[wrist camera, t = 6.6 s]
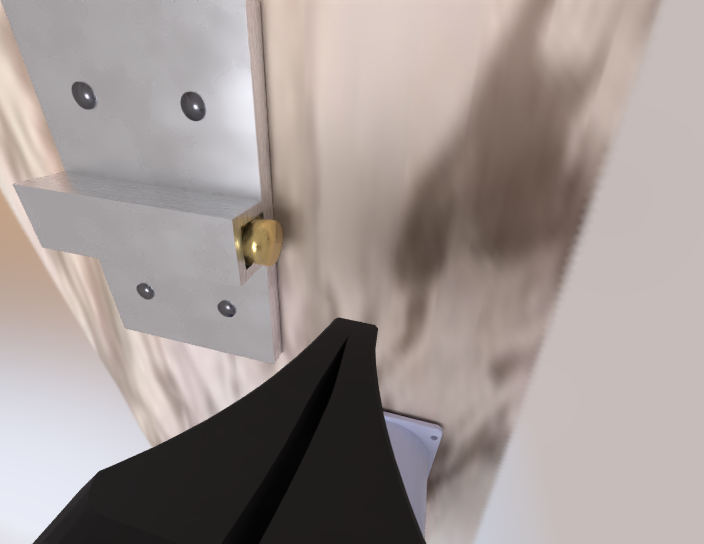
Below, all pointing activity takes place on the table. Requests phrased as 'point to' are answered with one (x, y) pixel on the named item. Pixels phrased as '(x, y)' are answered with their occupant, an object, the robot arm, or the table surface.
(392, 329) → the table surface
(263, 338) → the steel hinge
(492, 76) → the table surface
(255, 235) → the brass headed pin
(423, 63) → the table surface
